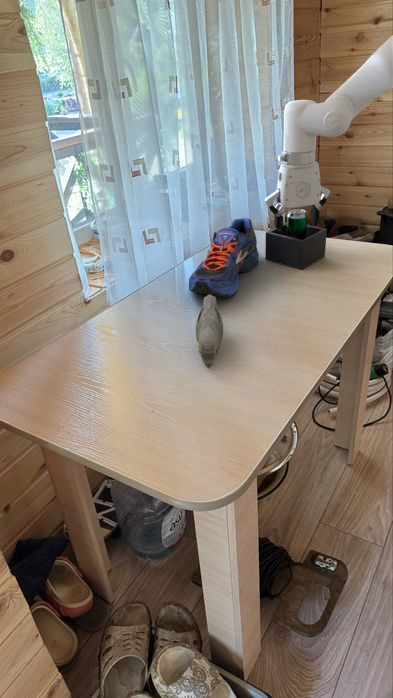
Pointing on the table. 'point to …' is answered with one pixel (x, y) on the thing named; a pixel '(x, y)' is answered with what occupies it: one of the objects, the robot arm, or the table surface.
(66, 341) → the table surface
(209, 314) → the decorative bird
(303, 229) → the soda can
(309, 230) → the dark grey open box
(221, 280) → the running shoe
